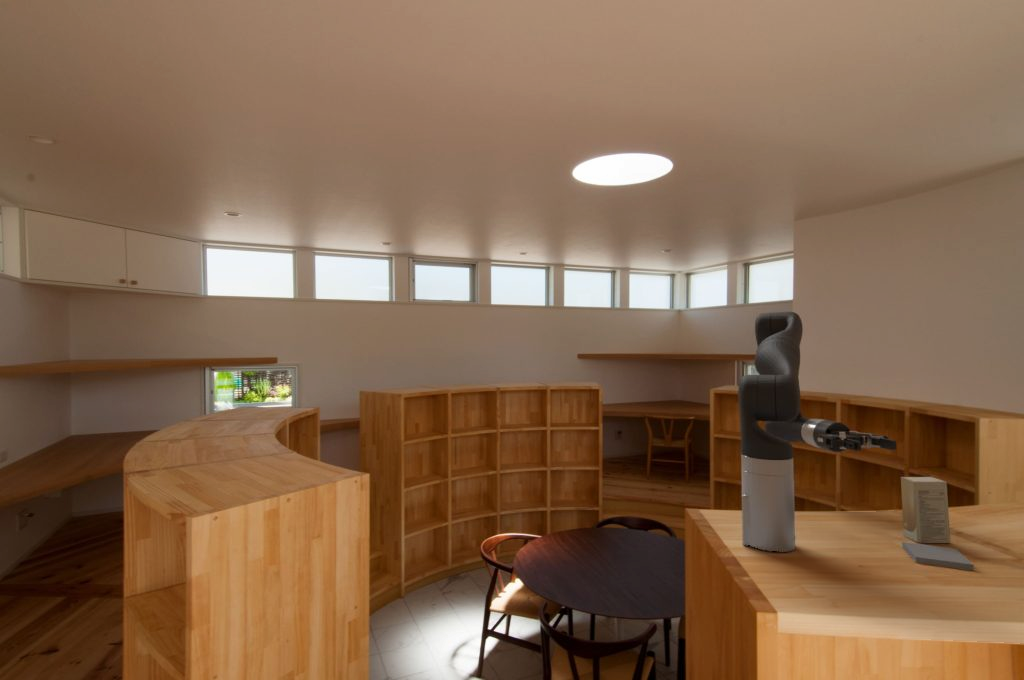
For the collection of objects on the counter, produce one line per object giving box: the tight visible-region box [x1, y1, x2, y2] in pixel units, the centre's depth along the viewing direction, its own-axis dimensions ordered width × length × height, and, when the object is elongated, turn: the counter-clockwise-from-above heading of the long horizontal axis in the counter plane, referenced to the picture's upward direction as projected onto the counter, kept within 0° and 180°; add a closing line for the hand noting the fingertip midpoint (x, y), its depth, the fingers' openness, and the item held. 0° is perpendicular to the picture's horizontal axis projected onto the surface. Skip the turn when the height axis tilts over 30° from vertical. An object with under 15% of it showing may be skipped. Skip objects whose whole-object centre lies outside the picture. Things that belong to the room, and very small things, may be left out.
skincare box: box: [900, 476, 951, 544], centre depth 100 cm, size 6×4×12 cm
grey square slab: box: [901, 541, 975, 571], centre depth 90 cm, size 8×8×1 cm
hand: (877, 446), depth 111 cm, fingers open, 8 cm apart
